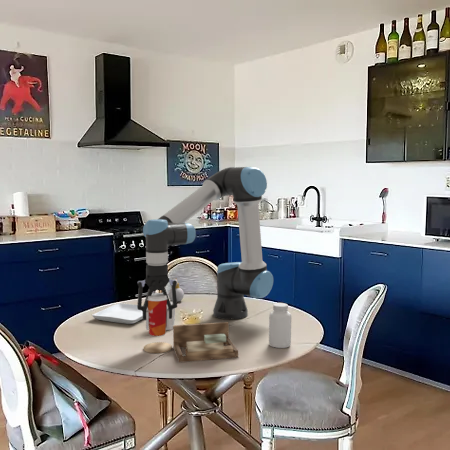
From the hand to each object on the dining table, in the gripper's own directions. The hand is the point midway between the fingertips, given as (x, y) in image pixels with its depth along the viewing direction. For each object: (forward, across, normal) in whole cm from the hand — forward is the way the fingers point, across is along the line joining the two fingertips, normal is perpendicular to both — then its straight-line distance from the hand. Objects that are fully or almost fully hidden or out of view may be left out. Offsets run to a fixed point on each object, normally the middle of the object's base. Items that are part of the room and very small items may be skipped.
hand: (157, 328), depth 182 cm
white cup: (+8, -6, -24) cm, 26 cm away
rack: (+7, -16, +7) cm, 19 cm away
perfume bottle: (+7, -16, -65) cm, 67 cm away
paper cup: (+2, 0, 0) cm, 2 cm away
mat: (+7, 0, 0) cm, 7 cm away
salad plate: (+8, +9, -43) cm, 45 cm away
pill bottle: (+7, -44, +6) cm, 45 cm away
